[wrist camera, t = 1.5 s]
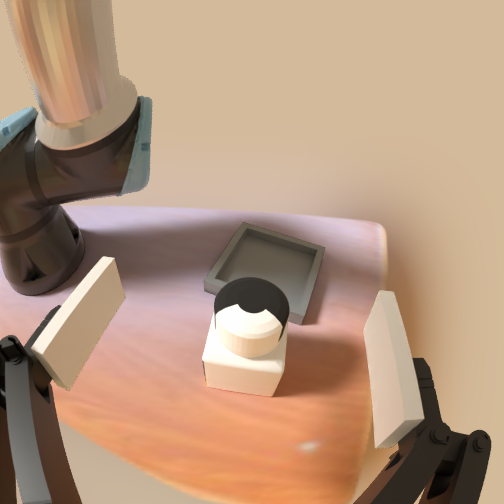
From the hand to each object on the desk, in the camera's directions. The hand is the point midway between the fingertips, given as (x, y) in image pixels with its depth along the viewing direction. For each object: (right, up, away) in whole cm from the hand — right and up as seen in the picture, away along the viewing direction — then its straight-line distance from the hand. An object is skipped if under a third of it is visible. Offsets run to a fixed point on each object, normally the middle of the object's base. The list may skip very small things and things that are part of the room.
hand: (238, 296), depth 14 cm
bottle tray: (+3, -1, +27) cm, 27 cm away
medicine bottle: (0, -10, +17) cm, 20 cm away
